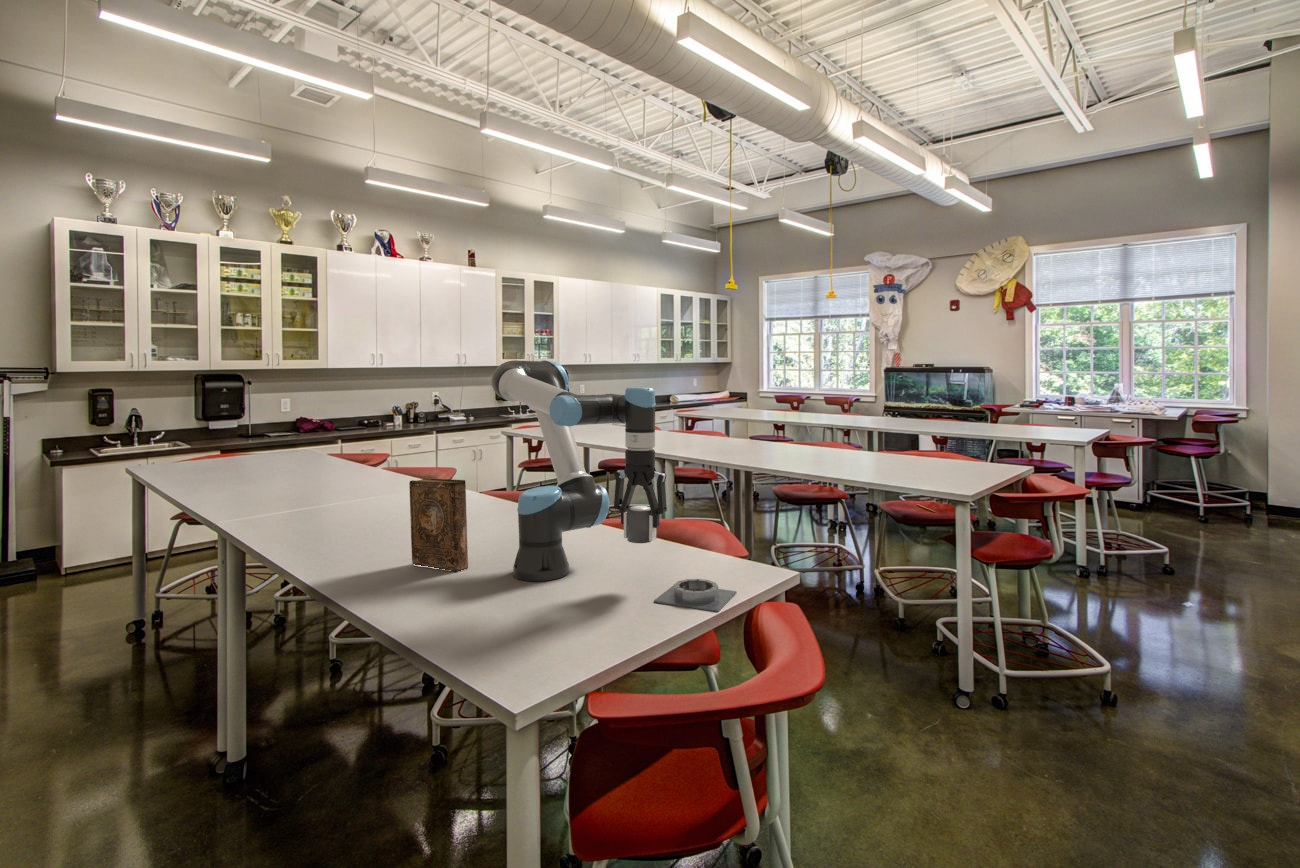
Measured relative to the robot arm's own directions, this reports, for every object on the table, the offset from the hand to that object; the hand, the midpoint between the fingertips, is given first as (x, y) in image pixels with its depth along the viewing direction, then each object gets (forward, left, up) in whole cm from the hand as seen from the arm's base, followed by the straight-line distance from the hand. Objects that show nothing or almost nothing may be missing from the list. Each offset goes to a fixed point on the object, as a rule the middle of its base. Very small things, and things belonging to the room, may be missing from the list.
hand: (639, 538), depth 160 cm
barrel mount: (+16, -3, -12) cm, 21 cm away
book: (-60, -7, -13) cm, 61 cm away
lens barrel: (0, 0, 0) cm, 0 cm away
